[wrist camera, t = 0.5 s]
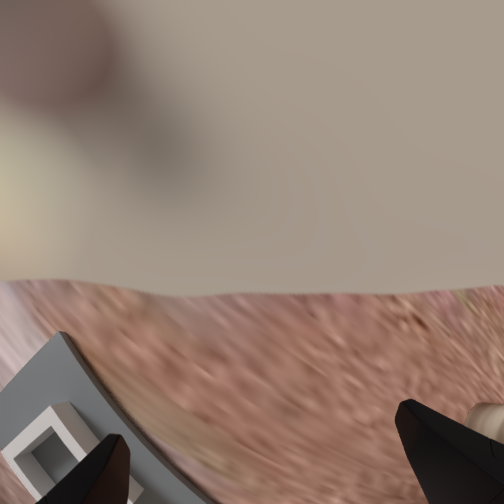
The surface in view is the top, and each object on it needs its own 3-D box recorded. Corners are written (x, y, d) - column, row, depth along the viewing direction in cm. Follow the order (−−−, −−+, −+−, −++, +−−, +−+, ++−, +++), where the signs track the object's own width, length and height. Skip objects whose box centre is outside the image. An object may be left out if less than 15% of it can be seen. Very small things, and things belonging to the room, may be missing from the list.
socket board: (217, 505, 18) (214, 529, 14) (109, 559, 14) (95, 578, 11) (65, 332, 22) (39, 327, 18) (-12, 413, 19) (-37, 416, 15)
